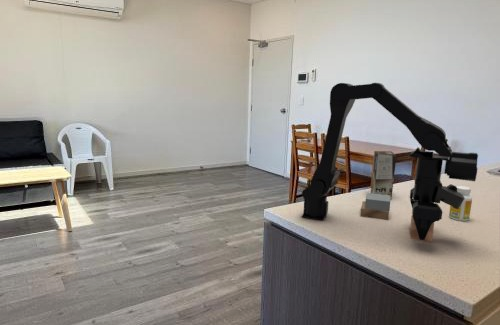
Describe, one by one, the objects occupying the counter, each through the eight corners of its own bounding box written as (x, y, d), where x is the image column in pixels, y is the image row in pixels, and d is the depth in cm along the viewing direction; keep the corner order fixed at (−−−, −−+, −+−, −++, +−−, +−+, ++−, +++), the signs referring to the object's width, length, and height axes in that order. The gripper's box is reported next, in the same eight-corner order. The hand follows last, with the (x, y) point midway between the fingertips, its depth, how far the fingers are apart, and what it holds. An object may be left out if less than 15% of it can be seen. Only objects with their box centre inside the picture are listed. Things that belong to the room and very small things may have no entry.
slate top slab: (364, 208, 108) (365, 198, 107) (365, 201, 115) (366, 192, 114) (389, 211, 106) (390, 201, 105) (388, 204, 112) (389, 195, 112)
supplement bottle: (466, 216, 110) (471, 186, 108) (471, 222, 105) (475, 190, 103) (447, 214, 112) (451, 184, 110) (450, 219, 107) (455, 188, 105)
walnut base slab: (360, 217, 109) (360, 208, 108) (361, 209, 116) (362, 201, 115) (388, 221, 106) (388, 212, 105) (388, 213, 113) (388, 204, 112)
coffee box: (392, 200, 125) (397, 155, 122) (373, 198, 127) (377, 154, 124) (387, 193, 134) (392, 151, 131) (370, 191, 135) (373, 150, 132)
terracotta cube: (410, 239, 92) (412, 221, 91) (409, 232, 97) (411, 214, 96) (431, 242, 91) (434, 224, 90) (429, 235, 95) (432, 217, 94)
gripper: (471, 188, 79) (461, 253, 82) (457, 171, 96) (450, 226, 99) (416, 182, 83) (409, 244, 86) (412, 167, 100) (406, 219, 103)
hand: (420, 233), depth 94 cm, fingers open, 9 cm apart
